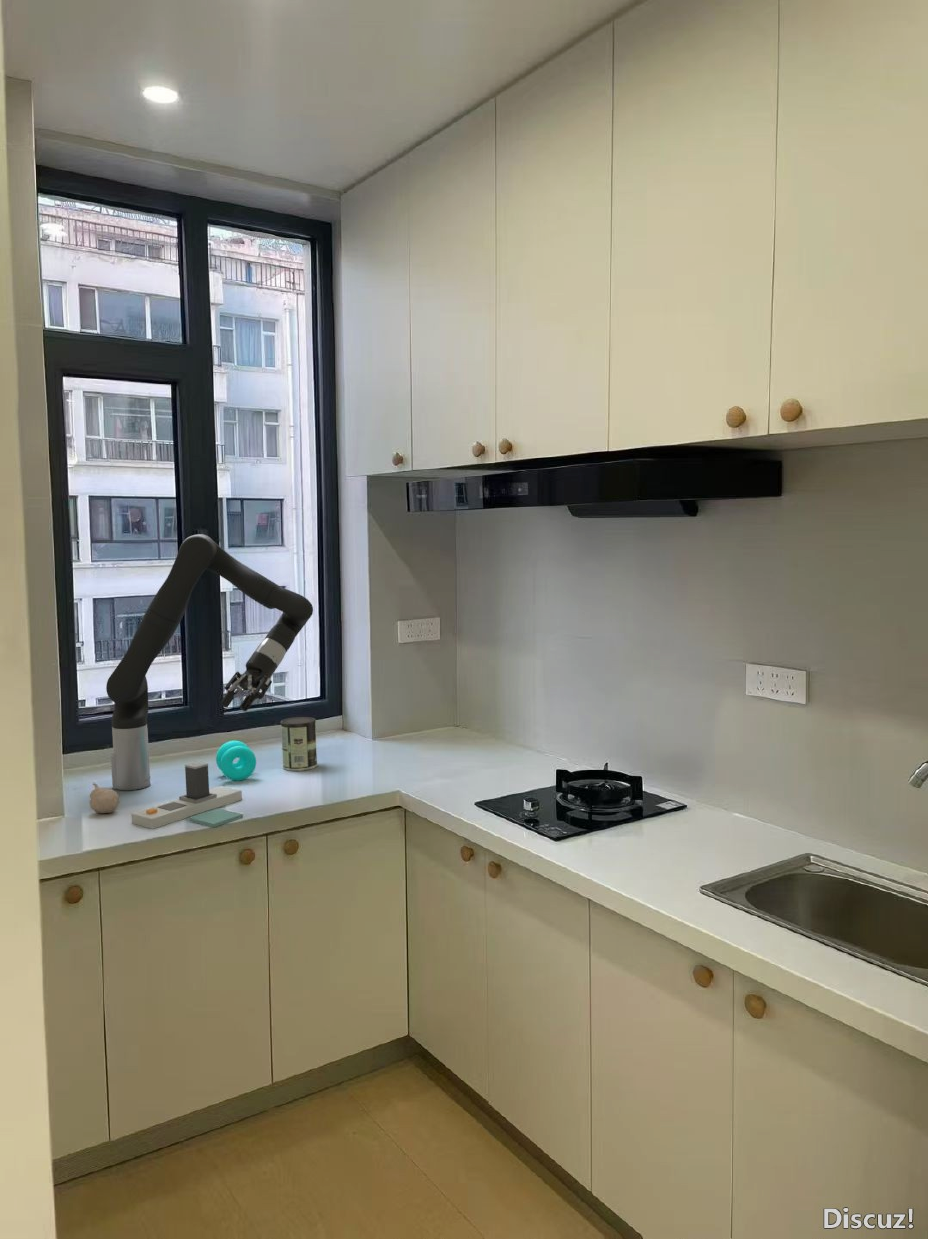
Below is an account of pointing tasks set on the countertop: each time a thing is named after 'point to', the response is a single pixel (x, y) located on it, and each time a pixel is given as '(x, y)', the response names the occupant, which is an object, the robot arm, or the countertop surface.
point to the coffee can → (299, 743)
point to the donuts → (239, 768)
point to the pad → (216, 817)
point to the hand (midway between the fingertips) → (232, 707)
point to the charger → (197, 780)
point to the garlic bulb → (104, 800)
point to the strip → (185, 807)
